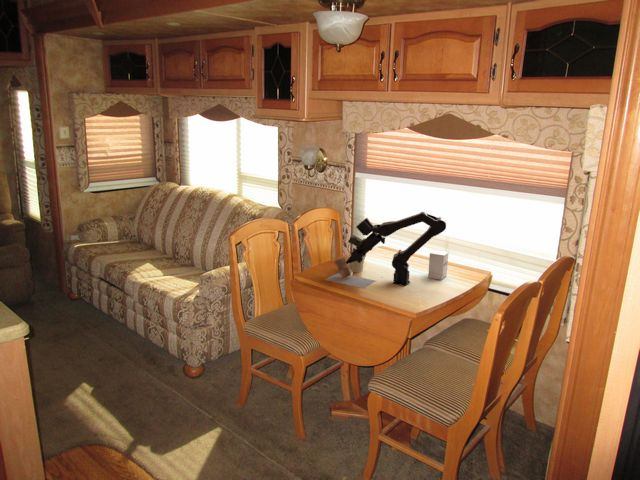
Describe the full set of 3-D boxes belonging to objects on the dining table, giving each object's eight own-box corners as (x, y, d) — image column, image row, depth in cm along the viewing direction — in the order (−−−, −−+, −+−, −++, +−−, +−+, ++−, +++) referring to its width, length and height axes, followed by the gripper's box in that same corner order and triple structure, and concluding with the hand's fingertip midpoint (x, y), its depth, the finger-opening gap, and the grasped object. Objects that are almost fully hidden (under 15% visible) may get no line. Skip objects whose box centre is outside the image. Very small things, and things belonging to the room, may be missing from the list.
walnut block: (353, 273, 255) (343, 255, 254) (351, 275, 251) (342, 257, 250) (345, 276, 256) (335, 259, 255) (343, 279, 252) (334, 261, 251)
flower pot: (344, 272, 264) (344, 256, 262) (351, 267, 272) (352, 251, 270) (361, 275, 260) (361, 258, 258) (368, 270, 268) (368, 254, 266)
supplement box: (442, 280, 254) (443, 255, 250) (427, 277, 257) (429, 253, 254) (447, 276, 260) (448, 252, 257) (433, 273, 264) (434, 249, 260)
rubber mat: (376, 281, 251) (376, 280, 251) (364, 289, 240) (364, 288, 240) (337, 273, 262) (337, 272, 262) (324, 280, 252) (324, 279, 252)
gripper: (361, 225, 256) (338, 245, 261) (356, 234, 238) (331, 255, 243) (376, 242, 256) (353, 261, 261) (372, 252, 239) (348, 273, 243)
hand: (346, 262), depth 252 cm, fingers closed
